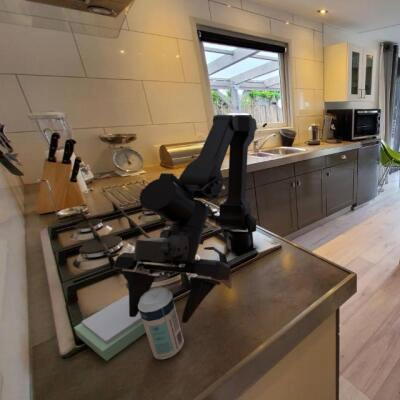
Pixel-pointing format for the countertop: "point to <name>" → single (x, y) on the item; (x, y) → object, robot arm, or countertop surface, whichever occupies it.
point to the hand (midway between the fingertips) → (158, 319)
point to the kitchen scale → (111, 329)
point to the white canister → (161, 322)
